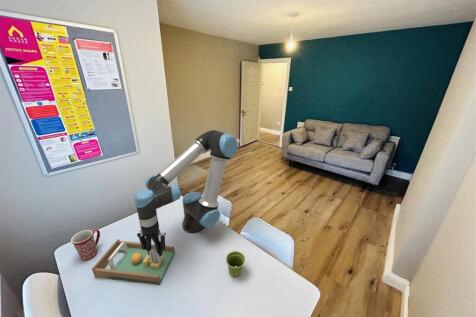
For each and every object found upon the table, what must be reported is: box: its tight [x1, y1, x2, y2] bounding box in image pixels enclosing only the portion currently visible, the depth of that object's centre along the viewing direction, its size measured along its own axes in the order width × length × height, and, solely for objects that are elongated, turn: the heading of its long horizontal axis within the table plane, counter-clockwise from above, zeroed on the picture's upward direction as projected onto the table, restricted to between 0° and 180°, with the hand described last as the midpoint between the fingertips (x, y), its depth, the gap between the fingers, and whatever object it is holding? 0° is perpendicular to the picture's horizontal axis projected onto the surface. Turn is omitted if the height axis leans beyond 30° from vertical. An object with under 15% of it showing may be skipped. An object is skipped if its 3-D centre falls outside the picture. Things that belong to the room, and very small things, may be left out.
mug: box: [70, 228, 101, 261], centre depth 104 cm, size 13×9×14 cm
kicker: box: [143, 245, 164, 269], centre depth 96 cm, size 8×6×11 cm
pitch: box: [91, 239, 176, 286], centre depth 98 cm, size 32×18×9 cm, turn 84°
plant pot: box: [225, 250, 246, 278], centre depth 96 cm, size 9×9×9 cm
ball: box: [131, 253, 142, 264], centre depth 98 cm, size 5×5×5 cm
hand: (156, 259), depth 97 cm, fingers closed on kicker, 3 cm apart
